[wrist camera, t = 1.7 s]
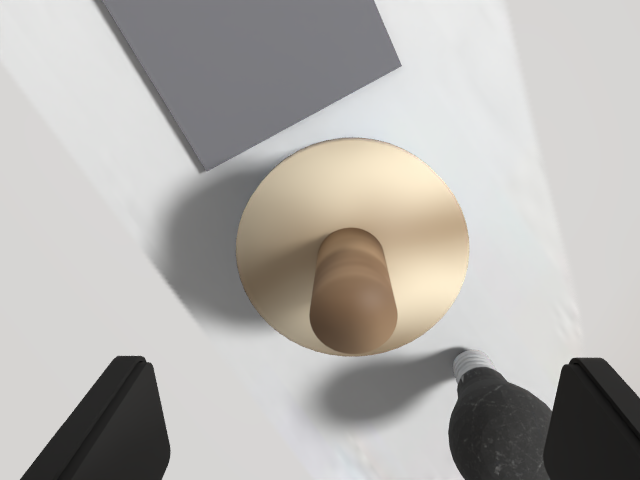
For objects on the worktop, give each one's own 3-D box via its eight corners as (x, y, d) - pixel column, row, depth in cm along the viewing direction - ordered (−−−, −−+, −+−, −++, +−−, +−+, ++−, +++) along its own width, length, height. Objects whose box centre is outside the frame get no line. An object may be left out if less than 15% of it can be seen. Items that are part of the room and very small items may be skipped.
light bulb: (410, 374, 29) (442, 512, 20) (451, 308, 28) (507, 427, 18) (483, 402, 30) (546, 550, 21) (528, 340, 28) (620, 472, 19)
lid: (494, 294, 21) (551, 377, 15) (305, 370, 23) (293, 468, 17) (407, 93, 18) (438, 101, 12) (200, 202, 20) (141, 253, 14)
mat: (400, 66, 23) (401, 65, 22) (209, 169, 25) (206, 171, 25) (289, -193, 19) (287, -201, 19) (80, -43, 22) (73, -47, 21)
